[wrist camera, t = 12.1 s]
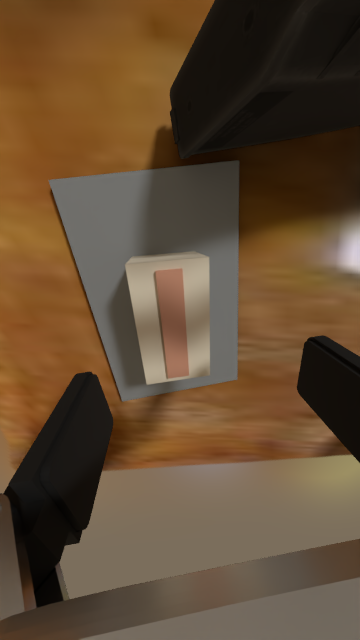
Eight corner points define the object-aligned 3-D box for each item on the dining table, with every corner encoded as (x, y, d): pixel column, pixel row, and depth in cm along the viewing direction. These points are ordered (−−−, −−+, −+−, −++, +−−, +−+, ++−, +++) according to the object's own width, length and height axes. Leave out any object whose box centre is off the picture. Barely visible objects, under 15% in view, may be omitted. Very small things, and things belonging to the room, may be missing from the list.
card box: (197, 345, 19) (210, 377, 15) (147, 352, 19) (146, 387, 15) (194, 251, 16) (210, 257, 11) (131, 256, 15) (124, 265, 11)
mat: (235, 163, 14) (239, 160, 14) (235, 375, 22) (237, 379, 22) (52, 182, 13) (48, 180, 13) (123, 397, 22) (122, 401, 21)
